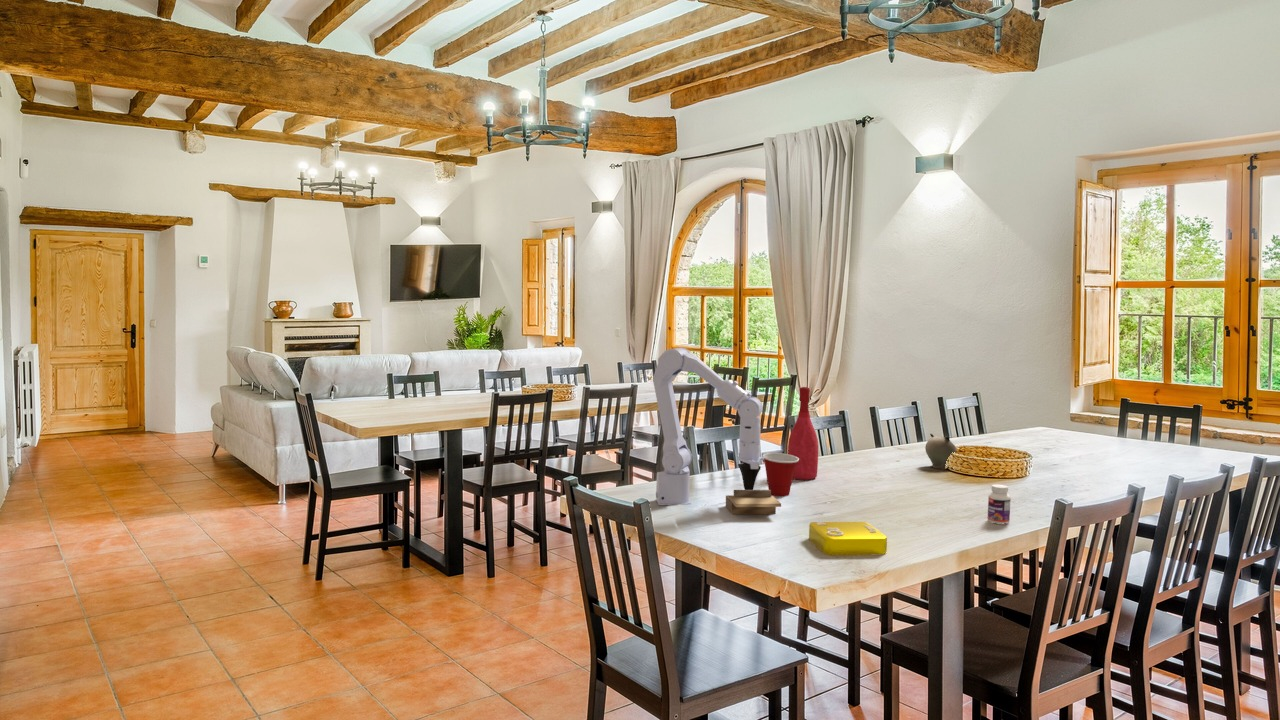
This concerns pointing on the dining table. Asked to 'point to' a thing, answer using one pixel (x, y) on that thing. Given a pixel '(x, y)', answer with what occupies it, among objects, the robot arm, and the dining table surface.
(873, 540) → the element tile
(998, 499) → the pill bottle
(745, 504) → the lid
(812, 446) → the wine bottle
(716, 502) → the dining table surface
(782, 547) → the dining table surface
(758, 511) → the walnut box
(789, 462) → the plastic cup
